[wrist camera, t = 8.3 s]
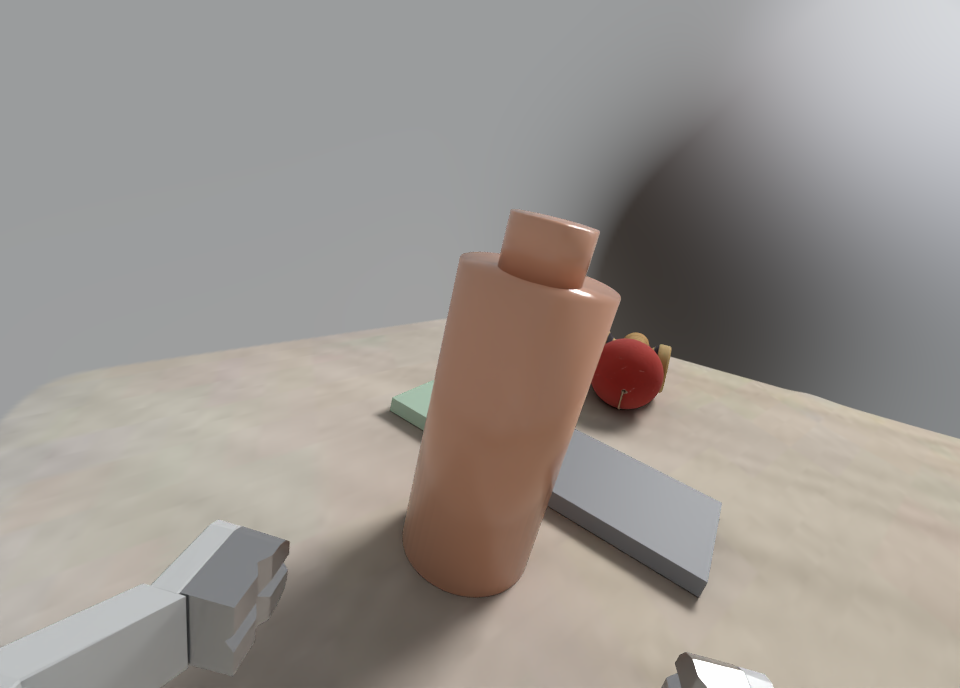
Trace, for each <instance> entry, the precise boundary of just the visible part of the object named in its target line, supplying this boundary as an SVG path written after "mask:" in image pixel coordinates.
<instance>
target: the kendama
mask: <svg viewBox="0 0 960 688" xmlns="http://www.w3.org/2000/svg"><path fill="white" fill-rule="evenodd" d="M670 355H671V347H669V346H666V345H662V344H661V345H659V346H656V347H654V348H651V347H649V343H648V340H647V338H646V337H645V336H644V335H643V334H640V333H631V334H629V335H627V336H626V337H625V338H624V339H617V340H616V339H615V338H614V337H613V336H612V334H611V333H610V332H609V334H608V336H607V339H606V342H605V345H604V348H603V351H602V353H601V356H600V359H599V362H598V365H597V367H596V370H595V373H594V376H593V379H592V382H591V384H592V387H593V389H594V391H595V392H596V394H597V395H598V396H599V397H600V398H601V399H602V400H603V401H604V402H606V403H607V404H609V405H611V406H613V407H616V408H618V409H620V408H621V409H634V408H639V407H641V406H644V405H646V404H647V403H649V402H650V401H652V400H653V399H654V398H655V396H656V395H657V394H658V393H660V392H662V390H663V386H664V382H665V378H666V373H667V369H668V364H669V360H670Z"/></svg>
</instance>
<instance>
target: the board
mask: <svg viewBox="0 0 960 688" xmlns="http://www.w3.org/2000/svg"><path fill="white" fill-rule="evenodd" d="M433 384H434V380H433V381H430V382H428V383H426V384H423V385H421V386H418V387H416V388H414V389H411V390H409V391H407V392H404V393H402V394H400V395H397V396H395V397H393V398H392V403H391V408H390V411H392V412H393V413H395V414H397V415H398V416H400V417H402V418H403V419H405V420H407V421H408V422H410V423H412V424H413V425H415V426H417V427H418V428H420V429H422V430H423V431H424V427H425V422H426V417H427V413H428V408H429V403H430V398H431V393H432V389H433ZM721 505H722V503H721V502H719V501H717V500H715V499H713V498H711V497H709V496H707V495H705V494H703V493H701V492H699V491H697V490H695V489H693V488H691V487H689V486H688V485H686V484H684V483H682V482H680V481H678V480H676V479H674V478H672V477H670V476H668V475H666V474H664V473H662V472H660V471H658V470H656V469H654V468H652V467H650V466H648V465H646V464H644V463H642V462H640V461H638V460H636V459H634V458H632V457H630V456H628V455H626V454H624V453H622V452H620V451H618V450H616V449H614V448H612V447H610V446H608V445H606V444H604V443H602V442H600V441H598V440H596V439H594V438H592V437H590V436H588V435H586V434H584V433H582V432H580V431H578V430H576V429H574V432H573V435H572V438H571V441H570V444H569V446H568V449H567V452H566V455H565V458H564V460H563V463H562V466H561V469H560V472H559V474H558V477H557V480H556V483H555V486H554V489H553V491H552V494H551V497H550V500H549V503H548V505H547V506H549V507H550V508H552V509H554V510H555V511H557V512H559V513H560V514H562V515H563V516H565V517H567V518H568V519H570V520H572V521H573V522H575V523H577V524H578V525H580V526H582V527H583V528H585V529H587V530H588V531H590V532H592V533H593V534H595V535H597V536H598V537H600V538H601V539H603V540H605V541H606V542H608V543H610V544H611V545H613V546H615V547H616V548H618V549H620V550H621V551H623V552H625V553H626V554H628V555H630V556H631V557H633V558H634V559H636V560H638V561H639V562H641V563H643V564H644V565H646V566H648V567H649V568H651V569H653V570H654V571H656V572H658V573H659V574H661V575H663V576H664V577H666V578H667V579H669V580H671V581H672V582H674V583H676V584H677V585H679V586H681V587H682V588H684V589H686V590H687V591H689V592H691V593H692V594H694V595H696V596H697V597H700V595H701V593H702V591H703V590H704V588H705V586H706V584H707V583H708V577H709V572H710V566H711V561H712V555H713V550H714V544H715V539H716V533H717V527H718V522H719V516H720V511H721Z"/></svg>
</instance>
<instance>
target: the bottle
mask: <svg viewBox="0 0 960 688" xmlns="http://www.w3.org/2000/svg"><path fill="white" fill-rule="evenodd" d="M599 233H600V231H598V230H596V229H593V228H591V227H588V226H585V225H582V224H578V223H574V222H571V221H568V220H564V219H560V218H556V217H552V216H548V215H544V214H539V213H534V212H529V211H524V210H517V209H511V211H510V215H509V219H508V223H507V228H506V232H505V236H504V240H503V244H502V248H501V252H500V254H499V253H489V252H469V253H464V254H462V255H461V256H460V259H459V264H458V269H457V274H456V279H455V283H454V289H453V293H452V298H451V303H450V307H449V312H448V317H447V322H446V326H445V331H444V336H443V341H442V346H441V350H440V355H439V360H438V365H437V369H436V374H435V379H434V384H433V389H432V393H431V398H430V403H429V408H428V413H427V417H426V422H425V427H424V432H423V436H422V441H421V446H420V451H419V456H418V460H417V465H416V470H415V475H414V480H413V484H412V489H411V494H410V499H409V503H408V508H407V513H406V518H405V523H404V527H403V533H402V540H403V547H404V550H405V553H406V555H407V558H408V560H409V561H410V563H411V564H412V566H413V567H414V569H415V570H416V571H417V572H418V573H419V574H420V575H421V576H422V577H423V578H424V579H425V580H427V581H428V582H430V583H431V584H432V585H434V586H436V587H438V588H440V589H441V590H444V591H446V592H449V593H452V594H455V595H459V596H465V597H487V596H492V595H496V594H498V593H501V592H503V591H505V590H507V589H509V588H510V587H511V586H513V585H514V584H515V583H516V582H517V581H518V580H519V579H520V577H521V576H522V574H523V572H524V570H525V567H526V565H527V562H528V559H529V556H530V553H531V551H532V548H533V545H534V542H535V539H536V536H537V534H538V531H539V528H540V525H541V522H542V520H543V517H544V514H545V511H546V508H547V505H548V503H549V500H550V497H551V494H552V491H553V489H554V486H555V483H556V480H557V477H558V474H559V472H560V469H561V466H562V463H563V460H564V458H565V455H566V452H567V449H568V446H569V444H570V441H571V438H572V435H573V432H574V429H575V427H576V424H577V421H578V418H579V415H580V413H581V410H582V407H583V404H584V401H585V398H586V396H587V393H588V390H589V387H590V384H591V382H592V379H593V376H594V373H595V370H596V367H597V365H598V362H599V359H600V356H601V353H602V351H603V348H604V345H605V342H606V339H607V336H608V334H609V331H610V328H611V325H612V322H613V319H614V316H615V314H616V311H617V308H618V305H619V303H620V300H621V297H620V295H619V294H618V293H617V292H616V291H615V290H613V289H612V288H610V287H609V286H607V285H605V284H603V283H601V282H599V281H597V280H595V279H592V278H589V277H587V276H586V274H587V271H588V268H589V265H590V262H591V258H592V255H593V252H594V249H595V246H596V243H597V239H598V236H599Z"/></svg>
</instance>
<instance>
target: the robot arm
mask: <svg viewBox="0 0 960 688" xmlns="http://www.w3.org/2000/svg"><path fill="white" fill-rule="evenodd" d="M289 545H290V542H289V541H287V540H284V539H281V538H278V537H274V536H271V535H268V534H265V533H262V532H258V531H255V530H252V529H249V528H246V527H243V526H239V525H235V524H232V523H229V522H225V521H222V520H217V521H215V522H213V523H212V524H210V525H209V526H208V527H207V528H206V529H205V530H204V531H203V532H202V533H201V534H200V535H199V536H198V537H197V538H196V539H195V540H194V541H193V542H192V543H191V544H190V545H189V546H188V547H187V548H186V549H185V550H184V551H183V552H182V553H181V554H180V555H179V557H178V558H177V559H176V560H175V561H174V562H173V563H172V564H171V565H170V566H169V567H168V568H167V569H166V570H165V571H164V572H163V573H162V574H161V575H160V576H159V577H158V578H157V579H156V580H155V581H154V582H153V583H152V584H151V585H147V584H141V585H138V586H136V587H134V588H132V589H129V590H127V591H125V592H123V593H121V594H118V595H116V596H114V597H112V598H109V599H107V600H105V601H103V602H101V603H98V604H96V605H94V606H92V607H89V608H87V609H85V610H83V611H81V612H78V613H76V614H74V615H72V616H69V617H67V618H65V619H63V620H61V621H58V622H56V623H54V624H52V625H49V626H47V627H45V628H43V629H41V630H38V631H36V632H34V633H32V634H30V635H27V636H25V637H23V638H21V639H18V640H16V641H14V642H12V643H10V644H7V645H5V646H3V647H1V648H0V688H161V687H162V686H164V685H165V684H166V683H168V682H169V681H171V680H172V679H173V678H175V677H176V676H178V675H179V674H180V673H182V672H183V671H185V670H186V669H187V668H188V665H191V666H195V667H199V668H202V669H206V670H210V671H214V672H218V673H222V674H225V675H229V676H233V675H234V674H235V672H236V671H237V669H238V668H239V666H240V664H241V663H242V661H243V660H244V658H245V656H246V655H247V653H248V652H249V650H250V649H251V647H252V645H253V644H254V642H255V634H256V627H257V626H259V625H260V624H262V623H264V622H265V621H267V620H269V618H270V616H271V615H272V613H273V611H274V610H275V608H276V607H277V605H278V602H279V600H280V598H281V596H282V593H283V591H284V588H285V584H286V580H287V573H288V569H287V568H286V566H285V564H284V563H283V562H284V561H285V559H286V558H287V556H288V555H289ZM675 666H676V669H677V673H676V674H674V675H671V676H669V677H667V678H666V679H665V681H664V683H663V685H662V687H661V688H774V687H773V685H772V683H771V681H770V680H769V679H768V678H767V676H766V675H765V674H763V673H759V672H756V671H752V670H748V669H745V668H741V667H737V666H735V665H733V664H729V663H725V662H721V661H718V660H714V659H710V658H706V657H703V656H699V655H695V654H691V653H688V652H685V653H683V654H680V655H679V657H678V659H677V660H676V662H675Z"/></svg>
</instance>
